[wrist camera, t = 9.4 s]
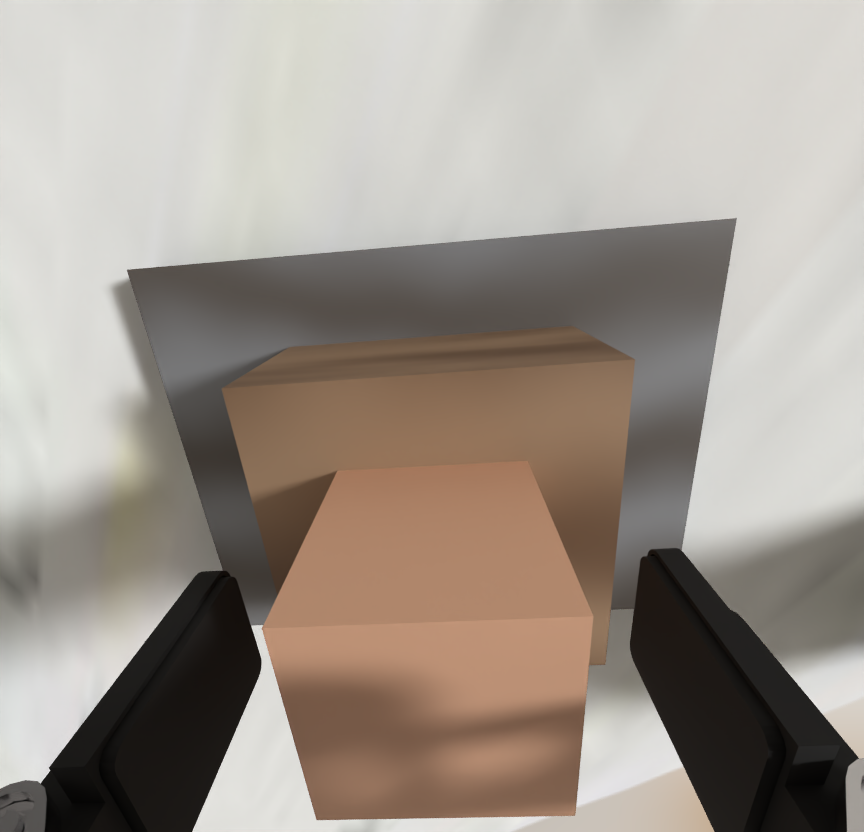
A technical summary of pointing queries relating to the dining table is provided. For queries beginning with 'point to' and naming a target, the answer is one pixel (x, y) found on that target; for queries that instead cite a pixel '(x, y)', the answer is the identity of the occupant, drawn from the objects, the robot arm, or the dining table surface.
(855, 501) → the dining table surface
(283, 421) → the walnut base block
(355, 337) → the charcoal board
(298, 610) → the terracotta cube
